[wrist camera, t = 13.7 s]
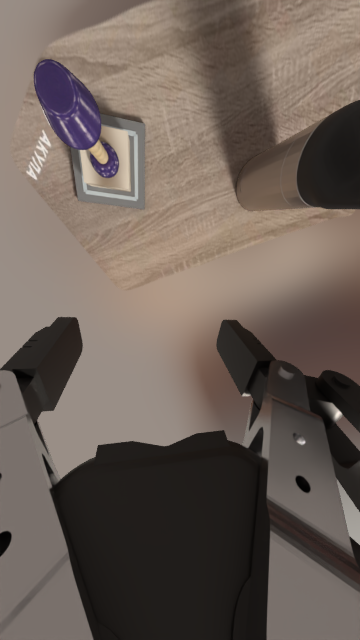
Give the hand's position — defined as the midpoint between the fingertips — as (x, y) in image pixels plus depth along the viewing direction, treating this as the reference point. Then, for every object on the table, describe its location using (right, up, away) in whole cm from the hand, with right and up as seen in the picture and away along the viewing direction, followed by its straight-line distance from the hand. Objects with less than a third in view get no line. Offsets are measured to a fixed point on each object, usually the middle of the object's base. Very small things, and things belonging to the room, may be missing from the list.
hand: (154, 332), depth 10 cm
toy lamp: (-10, +26, +17) cm, 33 cm away
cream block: (-11, +28, +20) cm, 36 cm away
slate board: (-11, +28, +21) cm, 37 cm away
